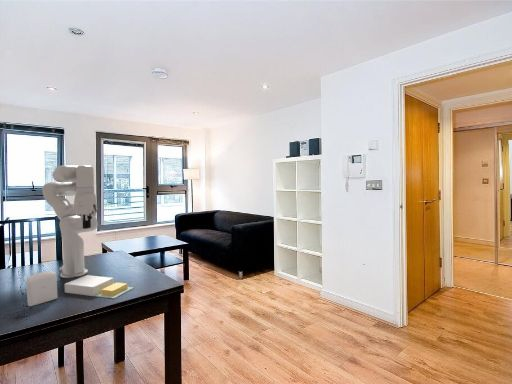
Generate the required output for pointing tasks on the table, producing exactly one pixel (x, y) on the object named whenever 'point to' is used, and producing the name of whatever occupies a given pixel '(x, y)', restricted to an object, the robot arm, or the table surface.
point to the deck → (88, 285)
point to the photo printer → (41, 288)
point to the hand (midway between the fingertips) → (86, 228)
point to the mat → (115, 294)
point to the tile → (114, 288)
